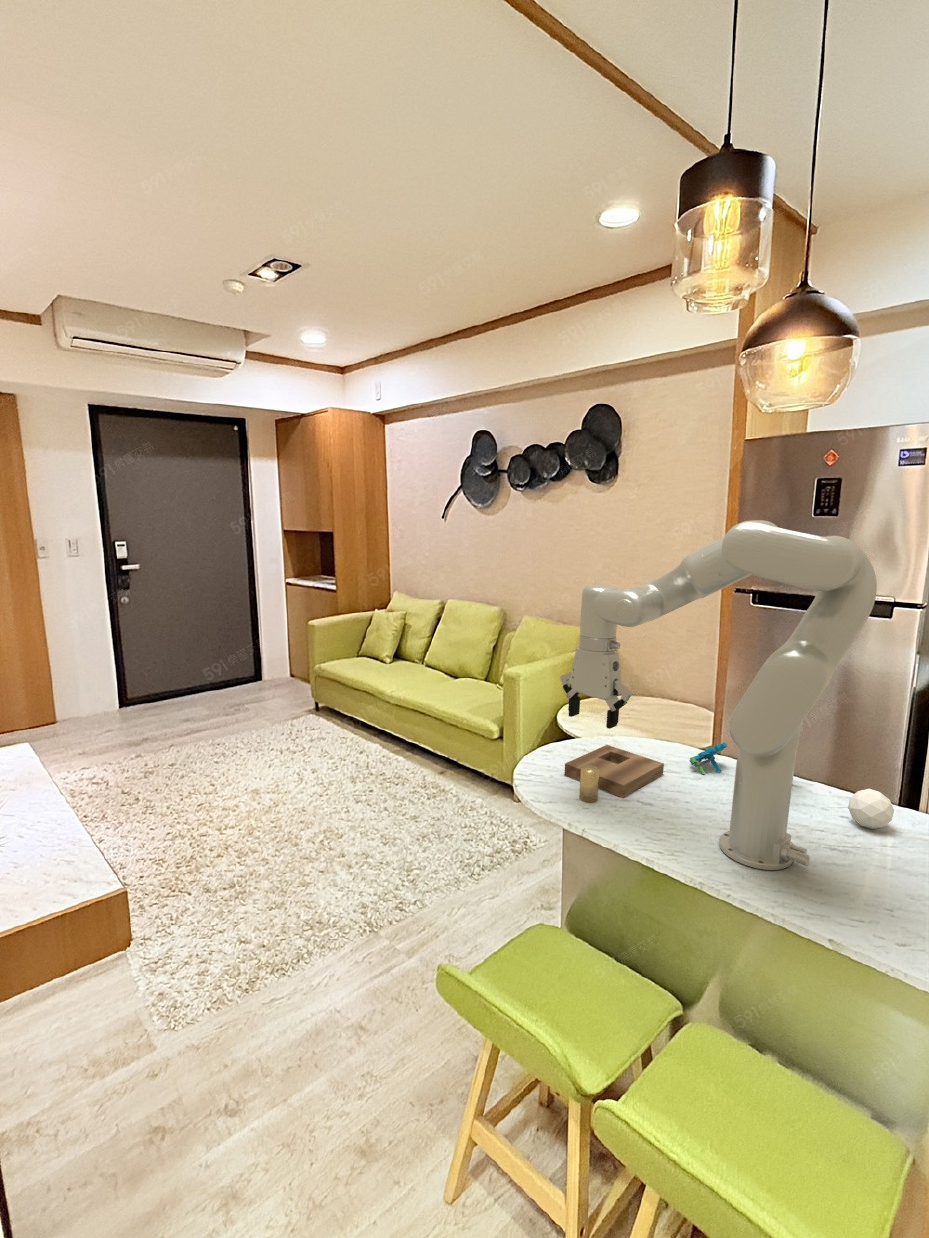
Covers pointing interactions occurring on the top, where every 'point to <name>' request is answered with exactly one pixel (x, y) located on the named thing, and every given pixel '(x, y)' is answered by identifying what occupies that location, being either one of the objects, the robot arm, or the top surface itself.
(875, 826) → the geometric ball
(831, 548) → the robot arm
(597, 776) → the brass cylinder
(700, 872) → the top surface
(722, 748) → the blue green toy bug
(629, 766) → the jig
